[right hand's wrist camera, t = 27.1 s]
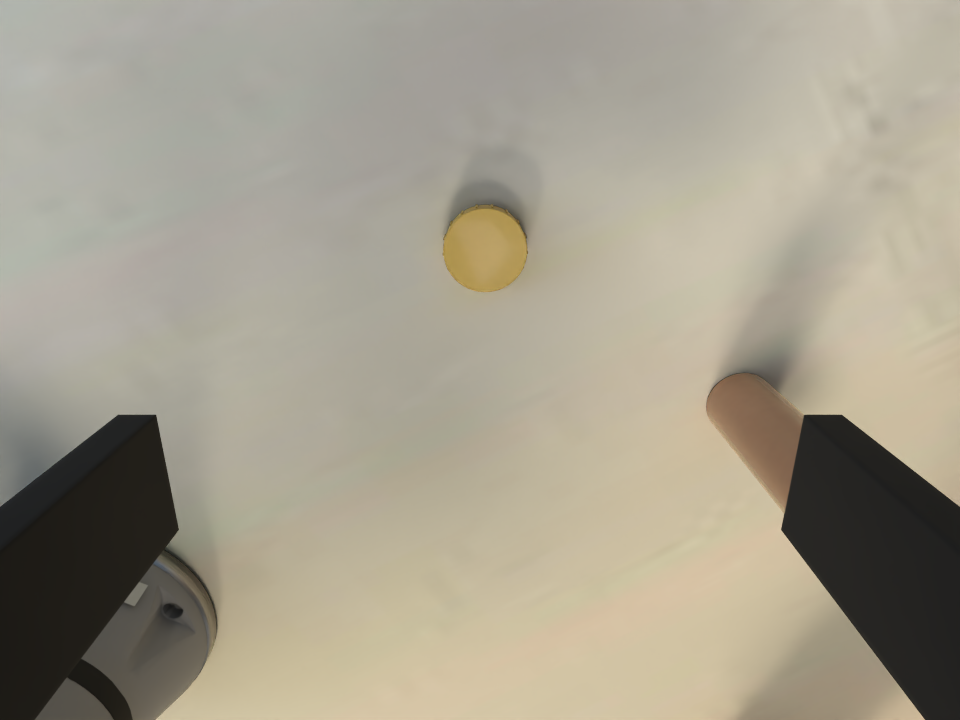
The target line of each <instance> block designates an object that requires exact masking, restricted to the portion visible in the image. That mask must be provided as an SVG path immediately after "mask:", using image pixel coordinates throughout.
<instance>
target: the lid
mask: <svg viewBox="0 0 960 720" xmlns="http://www.w3.org/2000/svg"><path fill="white" fill-rule="evenodd" d="M519 224H520V223H519V220H518V219H517V220H516V219H515V218H514V217H513V216H512V215H511V214H510V213H509V212H508V210H507V209H506V210H504V209H502V208H499V207H497V206H493V204H491V205H477V204H476V206H474V207H471V208H469V209H466V210H465V211H463V210H462V211H461V213H460V214H459V215H458V216H457V217H456V218H455V219H454V220H453V221H451V223H450V227H449V229H448V231H447V234H446V235H445V236H444V239H443V240H445V241H444V249H443V256H444V260H445V263H446V266H447V269H448V270H449V272H450V273H451V275H452V276H453V277H454V279H455V280H456V281H457V282H459V283H460V284H461V285H463V286H464V287H466V288H468V289H471V290H474V291H478V292H492V291H496V290H500V289H502V288H504V287H506V286H508V285H509V284H510V283H512V282H513V281H514V280H515V279H516V278H517V277H518V275H519V274H520V273H521V271H522V269H523V268H524V265H525V262H526V258H527V254H528V251H527V243H526V239H525V238H527V237H526V235H525V233H523V231H522V228H521V226H520V225H519Z"/></svg>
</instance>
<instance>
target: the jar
mask: <svg viewBox="0 0 960 720" xmlns="http://www.w3.org/2000/svg"><path fill="white" fill-rule="evenodd" d="M707 415H708V417H709V419H710V421H711V423H712V424H713V425H714V426H715V428H716V429H717V430H718V431H719V433H720V434H721V435H722V436H723V438H724V439H725V440H726V441H727V443H728V444H729V445H730V446H731V448H732V449H733V450H734V451H735V453H736V454H737V455H738V456H739V458H740V459H741V460H742V461H743V463H744V464H745V465H746V466H747V468H748V469H749V470H750V471H751V473H752V474H753V475H754V476H755V478H756V479H757V480H758V481H759V483H760V484H761V485H762V486H763V488H764V489H765V490H766V491H767V493H768V494H769V495H770V497H771V498H772V499H773V500H774V502H775V503H776V504H777V505H778V507H779V508H780V509H781V510H782V512H783V513H785V508H786V503H787V498H788V493H789V488H790V483H791V478H792V473H793V468H794V463H795V458H796V453H797V448H798V443H799V437H800V432H801V427H802V422H803V417H804V414H803V413H802V412H801V411H800V410H798V409H797V408H796V407H795V406H794V405H793V404H792V403H790V402H789V401H788V400H787V399H786V398H785V397H783V396H782V395H781V394H780V393H779V392H778V391H777V390H775V389H774V388H773V387H772V386H771V385H770V384H769V383H767V382H766V381H765V380H764V379H762V378H761V377H759V376H757V375H754V374H750V373H739V374H734V375H731V376H729V377H727V378H725V379H723V380H722V381H720V382H719V383H718V384H717V385H716V386H715V387H714V388H713V390H712V391H711V393H710V395H709V397H708V400H707Z"/></svg>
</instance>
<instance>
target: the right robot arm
mask: <svg viewBox="0 0 960 720" xmlns="http://www.w3.org/2000/svg"><path fill="white" fill-rule="evenodd" d="M178 530H179V528H178V523H177V518H176V513H175V508H174V503H173V498H172V493H171V488H170V483H169V478H168V473H167V468H166V463H165V458H164V453H163V448H162V443H161V437H160V432H159V427H158V422H157V417H156V415H117V416H116V417H115V418H114V419H112V420H111V421H110V422H108V423H107V424H106V425H105V426H103V427H102V428H101V429H99V430H98V431H97V432H96V433H94V434H93V435H92V436H90V437H89V438H88V439H87V440H85V441H84V442H83V443H82V444H80V445H79V446H78V447H76V448H75V449H74V450H73V451H71V452H70V453H69V454H67V455H66V456H65V457H64V458H62V459H61V460H60V461H58V462H57V463H56V464H55V465H53V466H52V467H51V468H49V469H48V470H47V471H46V472H44V473H43V474H42V475H41V476H39V477H38V478H37V479H35V480H34V481H33V482H32V483H30V484H29V485H28V486H26V487H25V488H24V489H23V490H21V491H20V492H19V493H17V494H16V495H15V496H14V497H12V498H11V499H10V500H9V501H7V502H6V503H5V504H3V505H2V506H1V507H0V720H155V719H157V718H158V717H159V716H160V715H161V714H162V713H163V712H164V711H165V710H166V709H167V708H168V707H169V706H170V705H171V704H172V703H173V702H174V701H175V700H176V699H177V698H178V697H180V696H181V695H182V694H183V693H184V692H185V691H186V690H187V689H188V687H189V686H190V685H191V684H192V682H193V681H194V680H195V679H196V678H197V676H198V675H199V673H200V672H201V670H202V668H203V666H204V664H205V662H206V660H207V658H208V657H209V655H210V653H211V651H212V648H213V645H214V642H215V637H216V617H215V612H214V609H213V605H212V603H211V600H210V598H209V596H208V594H207V592H206V590H205V589H204V587H203V586H202V584H201V583H200V581H199V580H198V579H197V578H196V576H195V575H194V574H193V573H192V572H191V571H190V570H189V569H188V568H187V567H186V566H185V565H184V564H183V563H181V562H180V561H179V560H178V559H176V558H175V557H174V556H172V555H171V554H169V553H168V552H166V551H165V550H164V549H165V547H166V546H167V545H168V543H169V542H170V541H171V539H172V538H173V537H174V535H175V534H176V533H177V531H178ZM781 530H782V531H783V533H784V534H785V535H786V537H787V538H788V539H789V541H790V542H791V543H792V545H793V546H794V547H795V549H796V550H797V551H798V553H799V554H800V555H801V557H802V558H803V559H804V561H805V562H806V563H807V564H808V566H809V567H810V568H811V570H812V571H813V572H814V574H815V575H816V576H817V578H818V579H819V580H820V582H821V583H822V584H823V586H824V587H825V588H826V590H827V591H828V592H829V593H830V595H831V596H832V597H833V599H834V600H835V601H836V603H837V604H838V605H839V607H840V608H841V609H842V611H843V612H844V613H845V615H846V616H847V617H848V619H849V620H850V621H851V623H852V624H853V625H854V626H855V628H856V629H857V630H858V632H859V633H860V634H861V636H862V637H863V638H864V640H865V641H866V642H867V644H868V645H869V646H870V648H871V649H872V650H873V652H874V653H875V654H876V655H877V657H878V658H879V659H880V661H881V662H882V663H883V665H884V666H885V667H886V669H887V670H888V671H889V673H890V674H891V675H892V677H893V678H894V679H895V681H896V682H897V683H898V685H899V686H900V687H901V688H902V690H903V691H904V692H905V694H906V695H907V696H908V698H909V699H910V700H911V702H912V703H913V704H914V706H915V707H916V708H917V710H918V711H919V712H920V714H921V715H922V716H923V718H924V719H925V720H960V507H959V506H958V505H957V504H955V503H954V502H953V501H951V500H950V499H949V498H948V497H946V496H945V495H944V494H943V493H941V492H940V491H939V490H937V489H936V488H935V487H934V486H932V485H931V484H930V483H928V482H927V481H926V480H925V479H923V478H922V477H921V476H919V475H918V474H917V473H916V472H914V471H913V470H912V469H910V468H909V467H908V466H907V465H905V464H904V463H903V462H902V461H900V460H899V459H898V458H896V457H895V456H894V455H893V454H891V453H890V452H889V451H887V450H886V449H885V448H884V447H882V446H881V445H880V444H878V443H877V442H876V441H875V440H873V439H872V438H871V437H870V436H868V435H867V434H866V433H864V432H863V431H862V430H861V429H859V428H858V427H857V426H855V425H854V424H853V423H852V422H850V421H849V420H848V419H846V418H845V417H844V416H843V415H804V417H803V422H802V427H801V432H800V437H799V443H798V448H797V453H796V458H795V463H794V468H793V473H792V478H791V483H790V488H789V493H788V498H787V503H786V508H785V513H784V518H783V523H782V528H781Z"/></svg>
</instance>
